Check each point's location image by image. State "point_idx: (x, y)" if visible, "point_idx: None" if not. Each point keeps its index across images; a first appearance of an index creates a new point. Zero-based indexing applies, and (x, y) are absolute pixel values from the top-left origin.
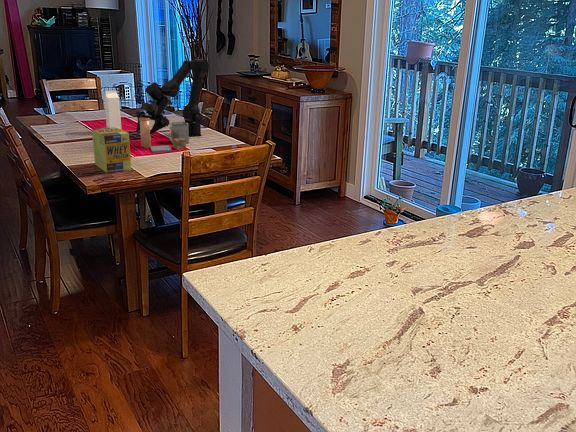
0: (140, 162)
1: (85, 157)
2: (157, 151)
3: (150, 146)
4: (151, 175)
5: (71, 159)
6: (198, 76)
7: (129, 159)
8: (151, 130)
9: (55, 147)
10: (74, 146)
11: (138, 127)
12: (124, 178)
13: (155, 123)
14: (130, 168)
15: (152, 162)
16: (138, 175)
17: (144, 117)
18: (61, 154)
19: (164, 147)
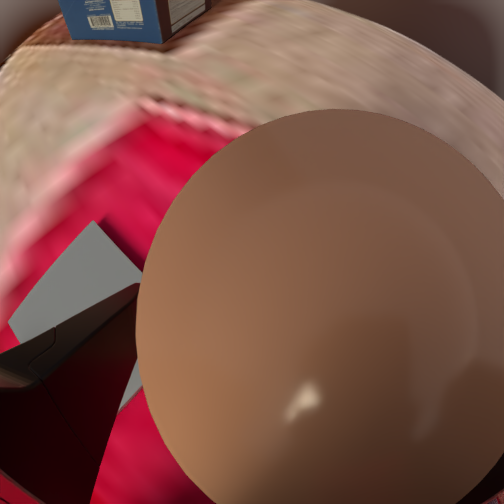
0: (73, 82)
1: (321, 33)
2: (70, 250)
3: None
4: (11, 58)
5: (329, 16)
6: None
7: (65, 12)
8: (110, 299)
9: (499, 104)
10: (496, 132)
11: None
12: None
13: (6, 371)
14: (72, 35)
15: (31, 110)
16: (40, 39)
17: (495, 414)
18: (410, 45)
19: None
